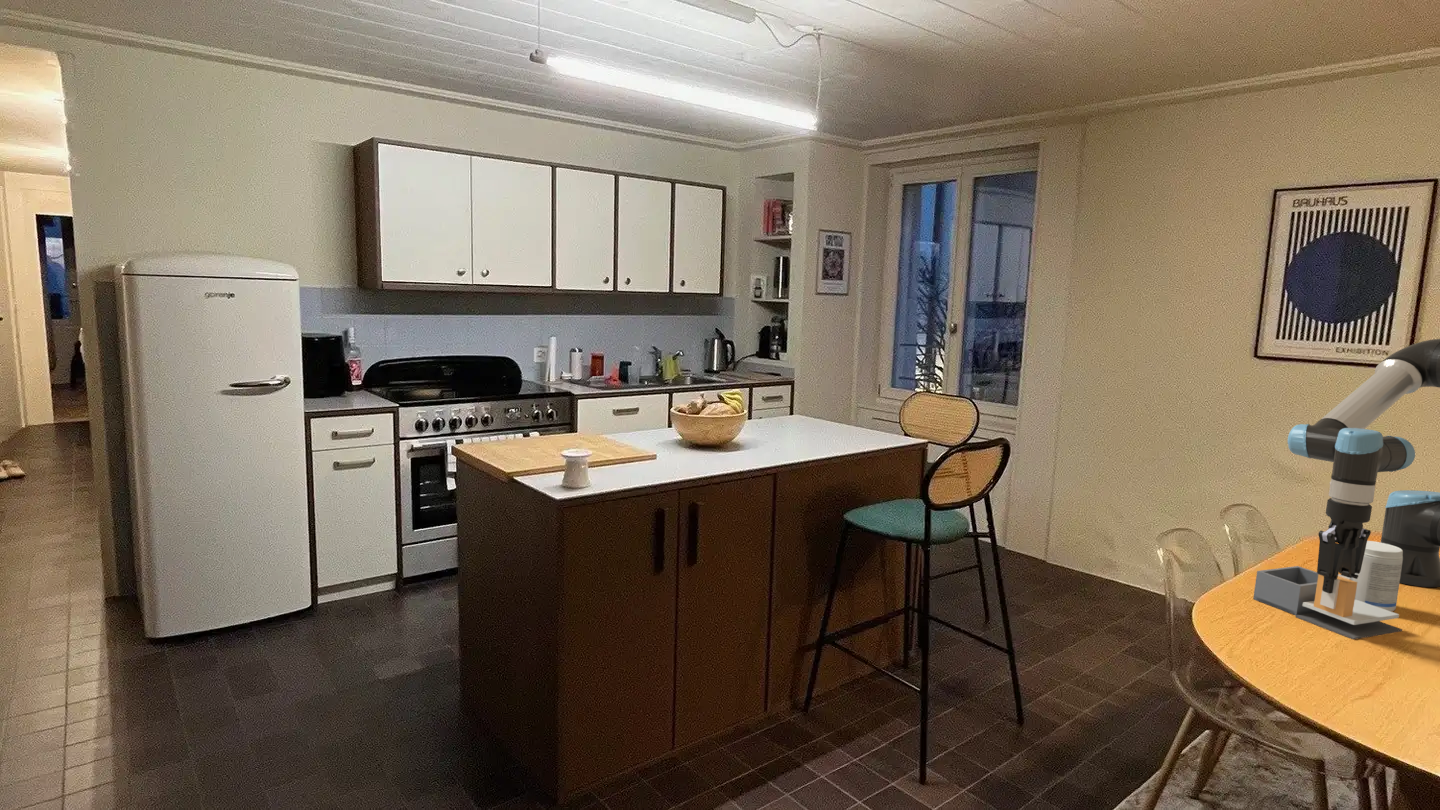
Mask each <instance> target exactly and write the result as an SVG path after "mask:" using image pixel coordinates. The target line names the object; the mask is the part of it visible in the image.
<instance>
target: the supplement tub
mask: <svg viewBox="0 0 1440 810" xmlns="http://www.w3.org/2000/svg"><path fill="white" fill-rule="evenodd" d="M1380 542H1381V541H1380ZM1380 542H1379V541H1373V540H1367V544H1366V549H1365V553H1364V558H1363V562H1362V567H1361V571H1360V573H1359V574H1357V573H1355V574H1356V575H1359V576H1358V578H1357V579H1355V578H1351V580H1352V581H1355V582H1357V588H1356V595H1355V599H1356V600H1359V601H1362V602H1364V603H1367V604H1370V605H1373V606H1376V607H1379V608H1382V609H1385V610H1388V611H1391V612H1394V611H1396V608H1397V603H1398V602H1397V601H1398V596H1399V588H1400V583H1399V582H1400V575H1401V569H1402V561H1403V556H1402V555H1403V550H1402V549H1400V548H1398V547H1396V546H1393V545H1389V544H1385V543H1380ZM1355 567H1356V566H1355Z"/></svg>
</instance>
